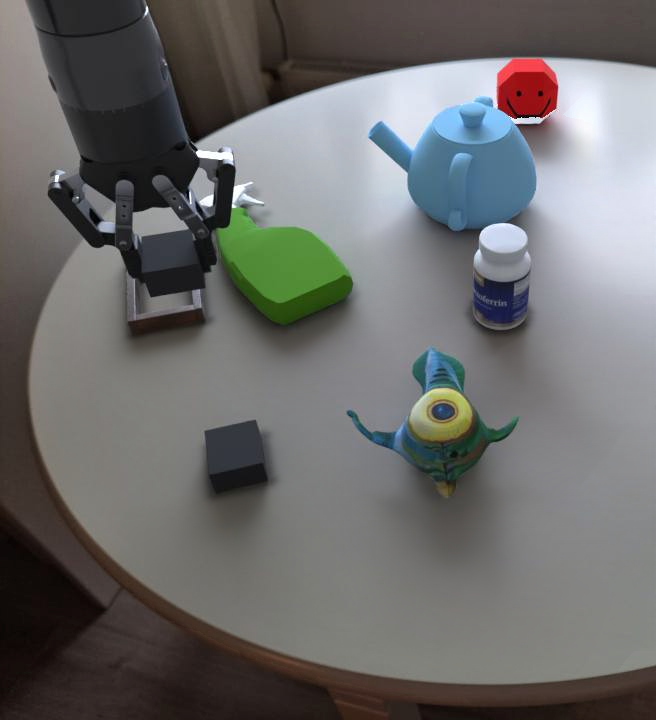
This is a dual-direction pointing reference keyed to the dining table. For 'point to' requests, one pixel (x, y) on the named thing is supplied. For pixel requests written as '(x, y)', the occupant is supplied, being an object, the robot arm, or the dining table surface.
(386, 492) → the dining table surface
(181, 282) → the pad
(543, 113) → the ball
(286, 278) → the spray bottle
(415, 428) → the decorative fish
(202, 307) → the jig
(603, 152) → the dining table surface
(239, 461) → the pad
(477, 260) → the pill bottle
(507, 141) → the teapot
